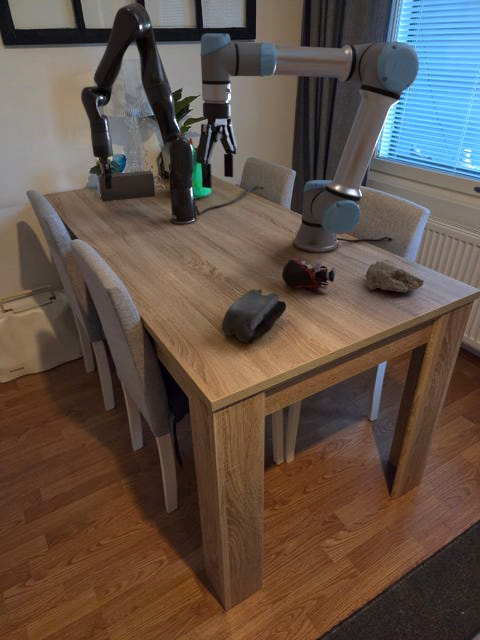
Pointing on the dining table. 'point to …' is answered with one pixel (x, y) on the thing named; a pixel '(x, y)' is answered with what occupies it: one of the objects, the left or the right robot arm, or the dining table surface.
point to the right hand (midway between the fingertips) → (218, 182)
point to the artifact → (391, 277)
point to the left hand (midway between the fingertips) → (107, 186)
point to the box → (127, 186)
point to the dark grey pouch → (252, 315)
